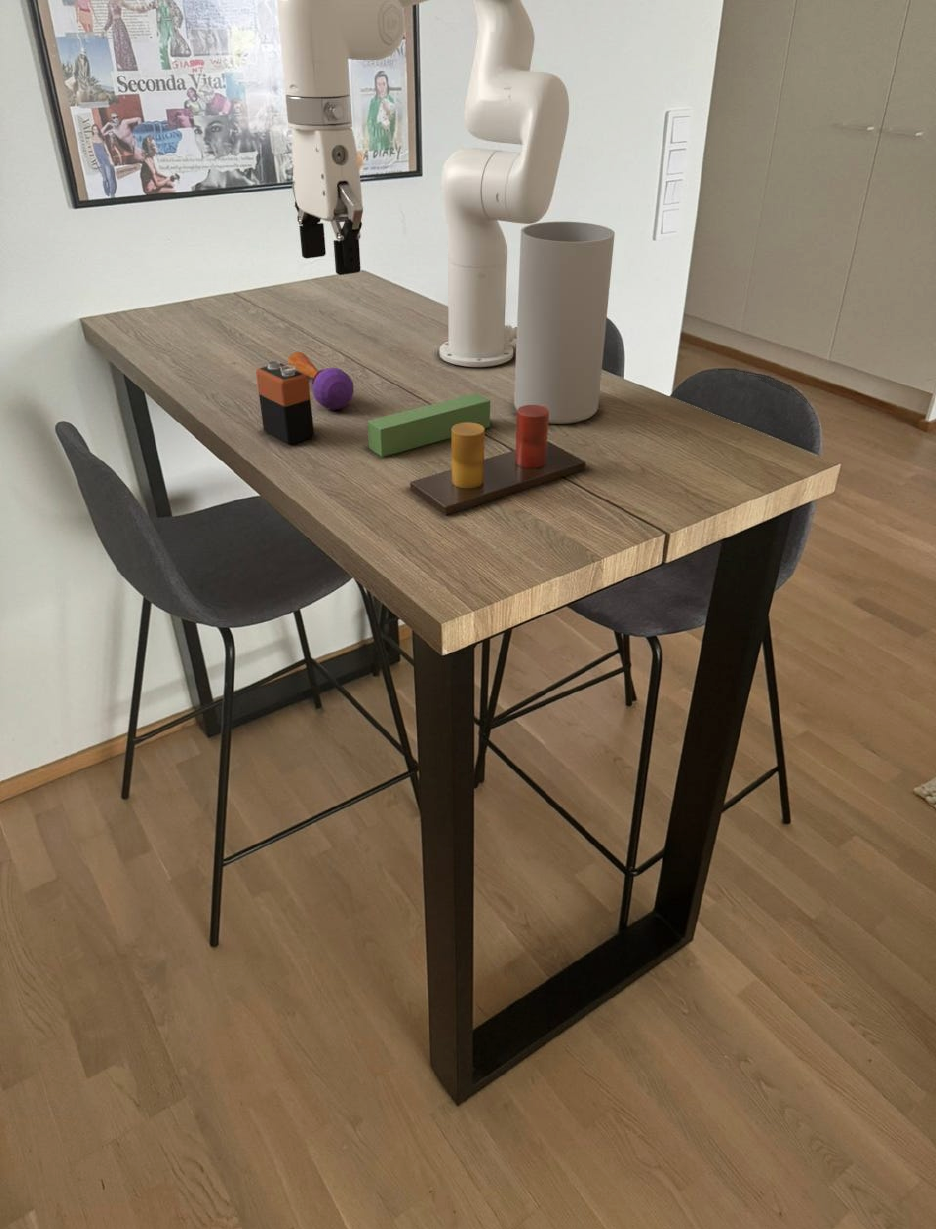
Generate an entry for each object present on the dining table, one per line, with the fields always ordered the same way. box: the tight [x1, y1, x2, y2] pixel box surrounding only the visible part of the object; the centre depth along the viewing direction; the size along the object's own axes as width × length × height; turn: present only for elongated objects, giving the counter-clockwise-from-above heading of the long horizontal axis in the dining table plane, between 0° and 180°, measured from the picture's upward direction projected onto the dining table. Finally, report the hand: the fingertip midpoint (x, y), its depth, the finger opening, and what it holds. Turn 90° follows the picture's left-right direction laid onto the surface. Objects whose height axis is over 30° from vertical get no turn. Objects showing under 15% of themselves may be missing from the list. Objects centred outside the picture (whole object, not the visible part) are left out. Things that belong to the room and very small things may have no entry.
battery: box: [255, 360, 315, 445], centre depth 123 cm, size 4×7×10 cm, turn 43°
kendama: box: [288, 351, 355, 411], centre depth 137 cm, size 6×6×20 cm
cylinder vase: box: [513, 221, 616, 425], centre depth 127 cm, size 12×12×25 cm
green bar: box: [367, 392, 491, 458], centre depth 124 cm, size 18×4×4 cm, turn 125°
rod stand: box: [409, 405, 586, 516], centre depth 112 cm, size 22×8×8 cm, turn 125°
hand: (330, 264), depth 115 cm, fingers open, 9 cm apart
